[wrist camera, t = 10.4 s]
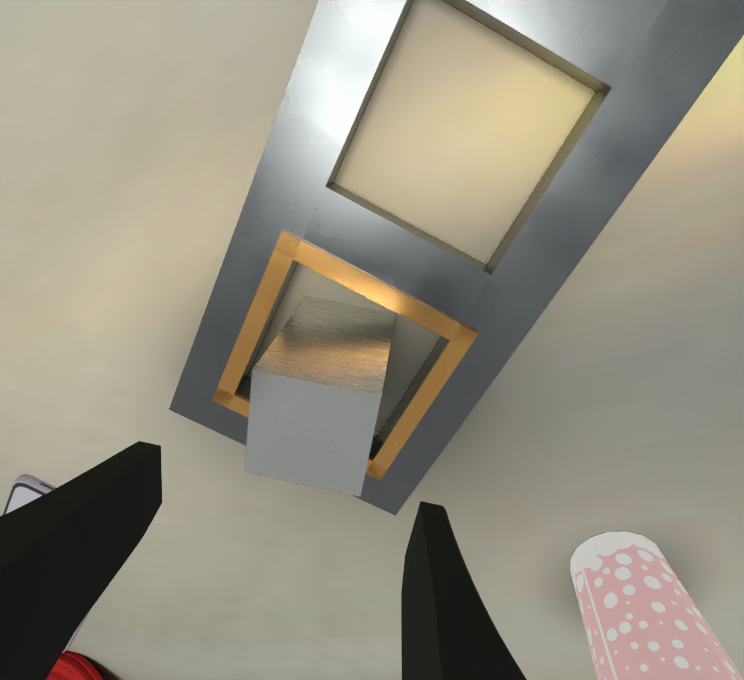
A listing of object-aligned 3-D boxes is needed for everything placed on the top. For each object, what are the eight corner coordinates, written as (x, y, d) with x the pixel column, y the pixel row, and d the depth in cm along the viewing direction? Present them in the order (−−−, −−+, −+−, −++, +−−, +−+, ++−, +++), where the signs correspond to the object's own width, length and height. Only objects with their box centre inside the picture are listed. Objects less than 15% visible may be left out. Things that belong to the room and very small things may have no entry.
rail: (1012, -378, 11) (1105, -459, 10) (397, 494, 24) (395, 518, 23) (597, -705, 10) (628, -855, 9) (184, 393, 23) (166, 411, 22)
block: (395, 314, 20) (381, 396, 14) (379, 391, 22) (360, 496, 16) (306, 296, 20) (252, 369, 14) (297, 374, 22) (244, 472, 16)
